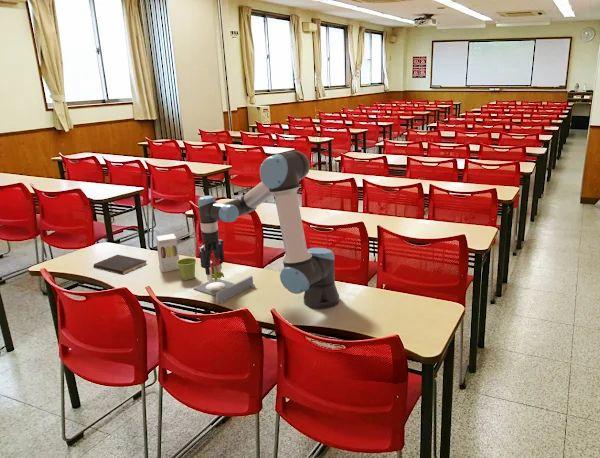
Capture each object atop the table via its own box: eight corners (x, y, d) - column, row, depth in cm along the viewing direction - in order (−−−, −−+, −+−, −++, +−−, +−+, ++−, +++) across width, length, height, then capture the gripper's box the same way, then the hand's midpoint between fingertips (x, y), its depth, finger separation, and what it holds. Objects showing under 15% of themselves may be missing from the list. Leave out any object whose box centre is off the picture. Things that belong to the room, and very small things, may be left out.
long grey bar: (255, 285, 226) (254, 276, 225) (221, 303, 210) (220, 294, 208) (249, 284, 229) (248, 275, 227) (214, 301, 212) (213, 292, 211)
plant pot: (175, 281, 236) (173, 264, 233) (184, 273, 245) (182, 257, 242) (192, 282, 234) (191, 265, 231) (201, 274, 242) (199, 258, 240)
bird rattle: (206, 285, 225) (218, 281, 219) (197, 262, 224) (209, 258, 218) (215, 280, 230) (228, 276, 224) (207, 258, 229) (219, 254, 223)
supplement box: (161, 272, 247) (157, 240, 242) (159, 266, 256) (154, 236, 251) (180, 268, 251) (177, 237, 246) (177, 263, 259) (173, 233, 254)
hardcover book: (118, 258, 272) (117, 254, 271) (147, 264, 261) (146, 260, 260) (93, 268, 259) (93, 264, 258) (123, 275, 248) (122, 271, 247)
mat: (236, 285, 228) (236, 284, 228) (214, 296, 217) (214, 294, 217) (215, 279, 236) (215, 277, 236) (193, 289, 226) (193, 288, 225)
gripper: (218, 224, 228) (222, 270, 234) (188, 234, 214) (194, 283, 221) (229, 226, 223) (234, 273, 230) (200, 237, 210) (205, 287, 217)
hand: (214, 278), depth 226 cm, fingers closed on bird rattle, 5 cm apart
